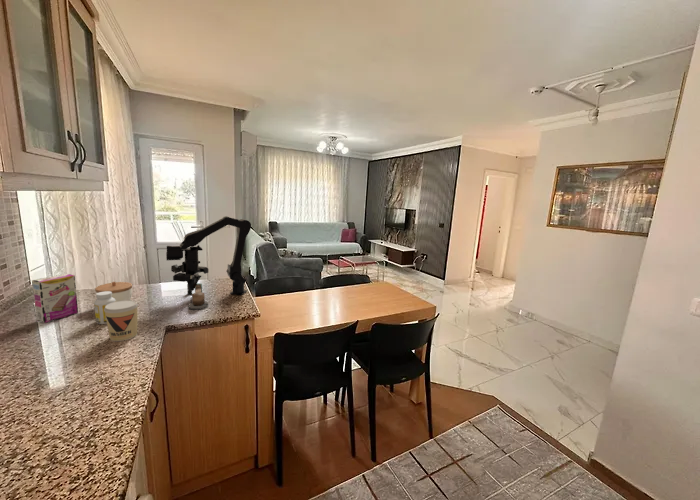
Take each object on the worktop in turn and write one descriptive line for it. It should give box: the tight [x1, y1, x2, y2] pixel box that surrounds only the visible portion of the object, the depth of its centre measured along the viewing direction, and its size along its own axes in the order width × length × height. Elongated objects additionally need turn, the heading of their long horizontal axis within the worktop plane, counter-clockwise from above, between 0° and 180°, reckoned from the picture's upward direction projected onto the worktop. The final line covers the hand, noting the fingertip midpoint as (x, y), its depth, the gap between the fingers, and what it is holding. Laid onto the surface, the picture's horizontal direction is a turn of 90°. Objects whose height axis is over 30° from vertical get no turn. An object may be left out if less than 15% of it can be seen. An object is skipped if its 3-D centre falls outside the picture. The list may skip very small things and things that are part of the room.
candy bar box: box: [31, 273, 79, 324], centre depth 113 cm, size 11×5×16 cm, turn 164°
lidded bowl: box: [94, 281, 133, 302], centre depth 127 cm, size 13×13×11 cm
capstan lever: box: [191, 282, 206, 306], centre depth 138 cm, size 20×5×4 cm, turn 27°
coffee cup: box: [104, 299, 139, 342], centre depth 102 cm, size 9×9×12 cm
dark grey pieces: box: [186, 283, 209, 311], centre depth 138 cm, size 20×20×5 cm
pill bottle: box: [93, 291, 116, 325], centre depth 112 cm, size 6×6×12 cm
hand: (192, 290), depth 141 cm, fingers closed
